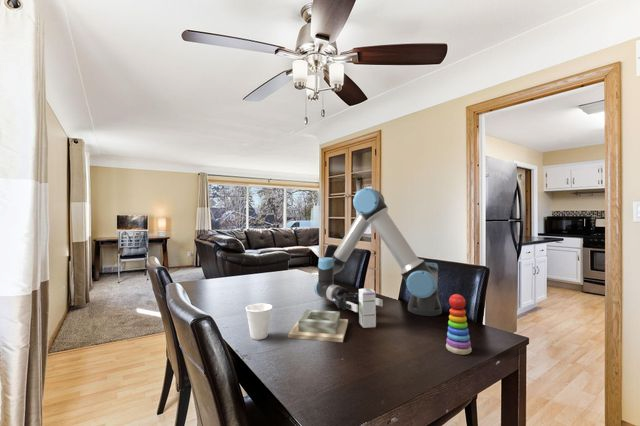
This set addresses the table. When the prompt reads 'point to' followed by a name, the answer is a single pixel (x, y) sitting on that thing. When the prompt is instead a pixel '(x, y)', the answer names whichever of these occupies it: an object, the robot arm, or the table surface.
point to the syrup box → (367, 308)
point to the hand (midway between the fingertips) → (370, 305)
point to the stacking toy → (458, 327)
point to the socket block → (320, 326)
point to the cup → (259, 320)
